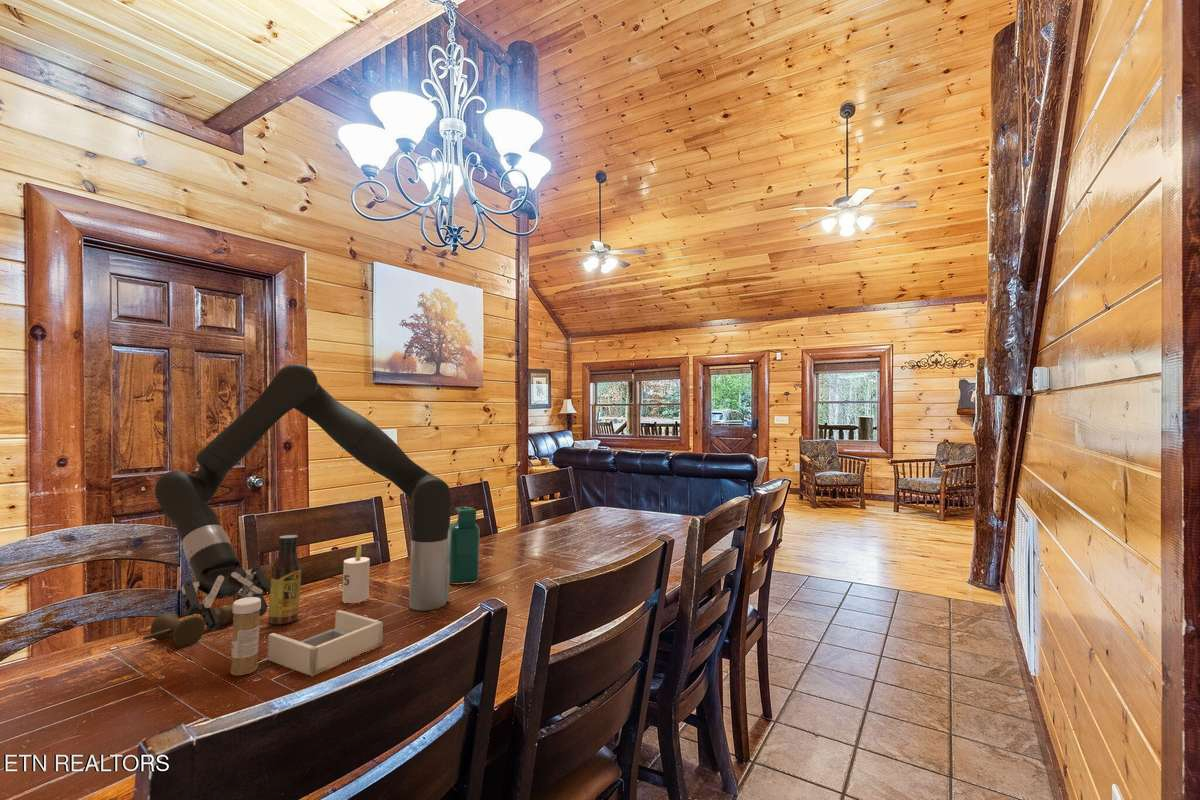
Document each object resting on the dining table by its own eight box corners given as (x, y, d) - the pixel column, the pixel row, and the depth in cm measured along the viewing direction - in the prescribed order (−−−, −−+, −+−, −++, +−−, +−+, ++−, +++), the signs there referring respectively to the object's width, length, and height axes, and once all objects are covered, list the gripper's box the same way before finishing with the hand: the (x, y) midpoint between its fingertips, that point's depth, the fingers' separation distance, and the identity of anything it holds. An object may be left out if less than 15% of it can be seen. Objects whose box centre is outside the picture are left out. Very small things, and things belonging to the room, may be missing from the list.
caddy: (338, 632, 122) (339, 609, 122) (382, 645, 116) (382, 621, 116) (267, 659, 108) (268, 634, 108) (312, 676, 101) (313, 649, 102)
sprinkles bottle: (231, 668, 104) (234, 598, 104) (259, 663, 106) (262, 594, 107) (228, 679, 100) (231, 605, 100) (257, 673, 102) (260, 602, 102)
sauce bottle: (284, 627, 124) (288, 540, 125) (261, 624, 126) (265, 538, 126) (305, 617, 131) (308, 534, 131) (283, 614, 132) (286, 533, 133)
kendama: (253, 625, 127) (156, 657, 108) (226, 620, 130) (127, 650, 112) (254, 599, 127) (158, 627, 108) (227, 594, 131) (129, 620, 112)
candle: (336, 602, 141) (338, 544, 142) (356, 594, 147) (357, 539, 148) (354, 605, 139) (356, 547, 139) (373, 598, 145) (375, 542, 145)
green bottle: (445, 578, 164) (447, 505, 164) (473, 575, 167) (475, 504, 168) (451, 587, 155) (453, 510, 156) (480, 584, 158) (482, 509, 159)
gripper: (177, 548, 102) (207, 621, 97) (254, 535, 115) (285, 598, 109) (162, 572, 105) (190, 645, 99) (239, 556, 117) (268, 620, 112)
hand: (240, 620), depth 104 cm, fingers open, 8 cm apart
